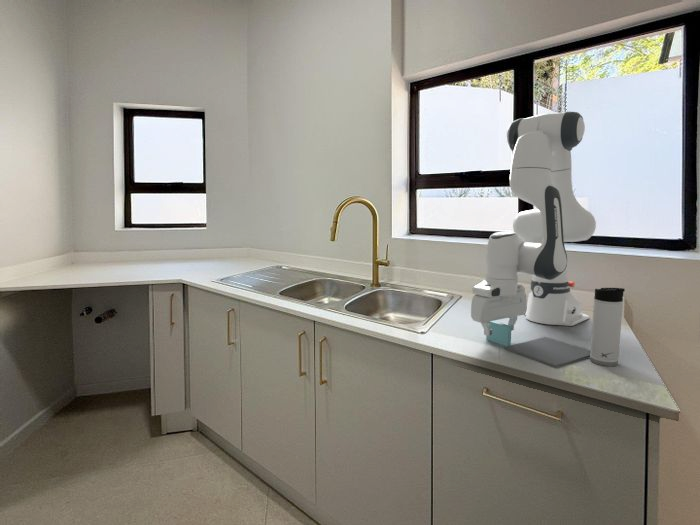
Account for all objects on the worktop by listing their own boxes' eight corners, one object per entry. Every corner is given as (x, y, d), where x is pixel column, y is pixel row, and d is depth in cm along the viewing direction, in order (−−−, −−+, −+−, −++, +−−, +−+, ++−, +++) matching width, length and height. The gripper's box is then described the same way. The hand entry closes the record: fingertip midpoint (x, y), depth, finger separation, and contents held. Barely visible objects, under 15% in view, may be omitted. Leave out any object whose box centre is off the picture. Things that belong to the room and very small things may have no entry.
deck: (489, 338, 127) (490, 319, 126) (510, 346, 120) (511, 326, 119) (486, 339, 127) (486, 320, 126) (507, 346, 120) (508, 326, 119)
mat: (545, 338, 126) (545, 336, 126) (597, 354, 112) (598, 352, 112) (504, 349, 118) (504, 347, 118) (555, 367, 104) (556, 365, 104)
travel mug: (608, 368, 103) (614, 290, 100) (584, 359, 109) (589, 285, 106) (624, 364, 105) (631, 287, 102) (600, 356, 111) (605, 283, 108)
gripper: (515, 282, 128) (513, 325, 130) (468, 288, 118) (466, 335, 120) (533, 285, 123) (531, 330, 125) (484, 292, 113) (483, 341, 115)
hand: (499, 332), depth 122 cm, fingers open, 8 cm apart
